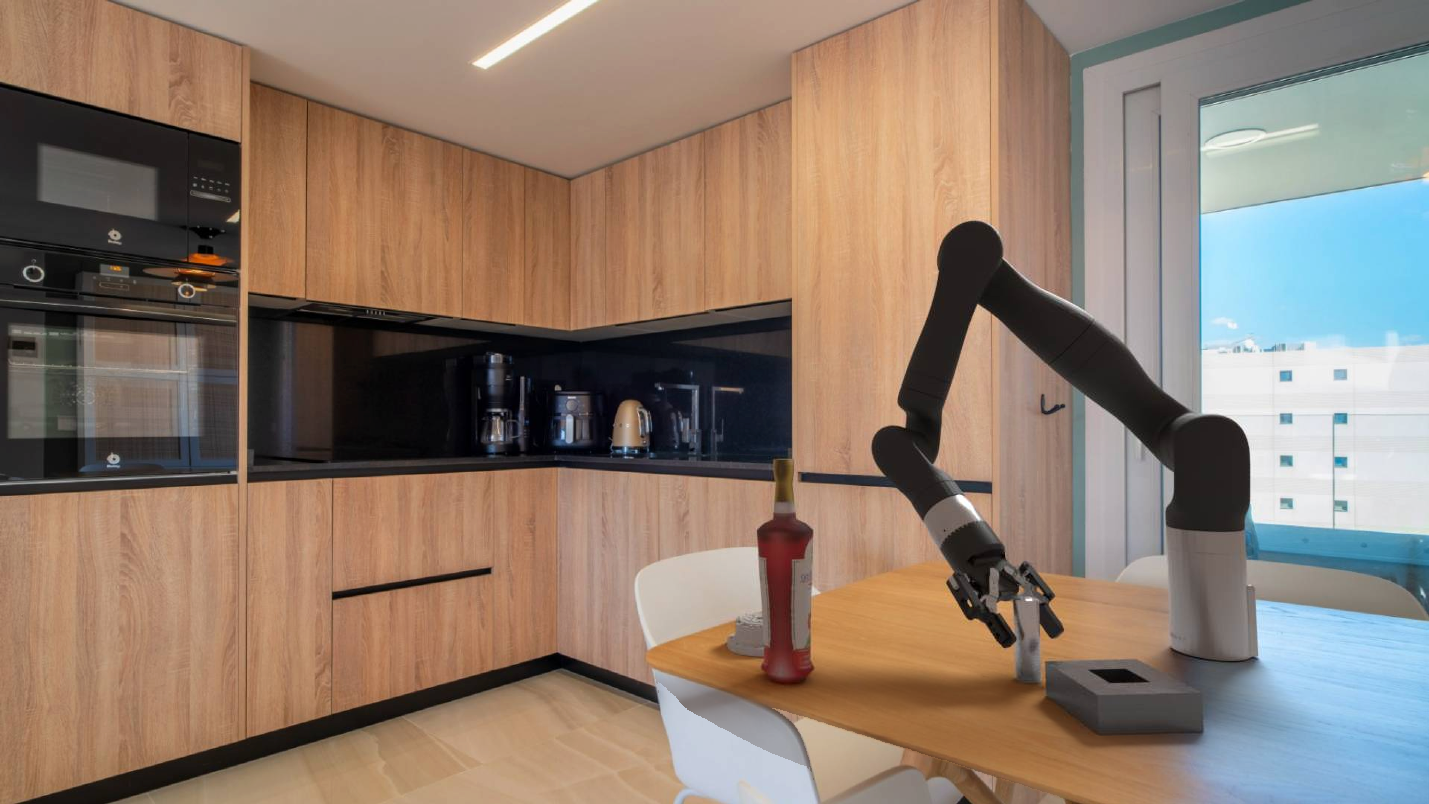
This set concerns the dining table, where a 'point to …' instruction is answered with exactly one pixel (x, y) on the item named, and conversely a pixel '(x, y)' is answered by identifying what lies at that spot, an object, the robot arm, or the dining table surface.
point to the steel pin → (1027, 640)
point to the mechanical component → (747, 636)
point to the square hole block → (1124, 697)
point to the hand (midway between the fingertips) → (1035, 639)
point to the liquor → (786, 584)
